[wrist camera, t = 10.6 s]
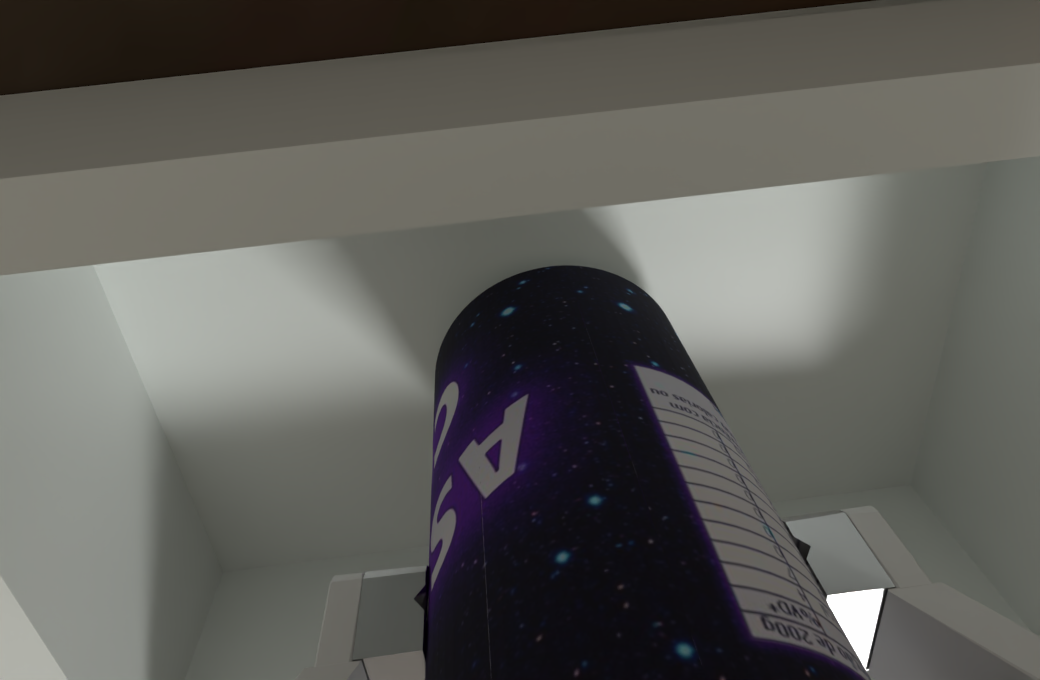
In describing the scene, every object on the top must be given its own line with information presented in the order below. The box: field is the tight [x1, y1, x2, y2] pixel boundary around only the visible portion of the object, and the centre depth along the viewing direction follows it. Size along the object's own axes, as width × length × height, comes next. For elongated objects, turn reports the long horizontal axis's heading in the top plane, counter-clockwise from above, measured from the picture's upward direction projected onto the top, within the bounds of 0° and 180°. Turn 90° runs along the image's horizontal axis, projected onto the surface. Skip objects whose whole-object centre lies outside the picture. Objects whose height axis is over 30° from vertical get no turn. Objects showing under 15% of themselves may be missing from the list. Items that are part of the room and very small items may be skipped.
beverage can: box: [425, 265, 871, 680], centre depth 12 cm, size 6×6×12 cm
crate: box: [0, 0, 1040, 680], centre depth 15 cm, size 22×14×7 cm, turn 95°
